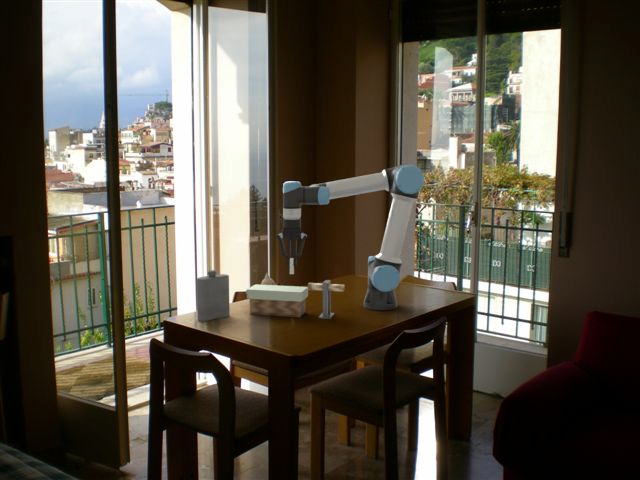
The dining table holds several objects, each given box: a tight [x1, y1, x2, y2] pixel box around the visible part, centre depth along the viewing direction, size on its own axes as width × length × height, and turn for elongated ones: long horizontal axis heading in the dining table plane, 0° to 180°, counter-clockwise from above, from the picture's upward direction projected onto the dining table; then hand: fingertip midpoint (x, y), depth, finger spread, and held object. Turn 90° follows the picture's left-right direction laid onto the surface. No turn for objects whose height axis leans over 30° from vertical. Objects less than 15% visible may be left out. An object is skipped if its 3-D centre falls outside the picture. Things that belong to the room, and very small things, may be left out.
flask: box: [196, 269, 230, 322], centre depth 286 cm, size 15×6×20 cm, turn 133°
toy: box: [245, 272, 278, 295], centre depth 311 cm, size 6×15×15 cm, turn 78°
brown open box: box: [249, 298, 306, 318], centre depth 295 cm, size 22×9×7 cm, turn 76°
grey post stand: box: [318, 279, 335, 320], centre depth 290 cm, size 5×8×15 cm, turn 166°
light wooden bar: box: [307, 282, 346, 293], centre depth 289 cm, size 15×3×3 cm, turn 76°
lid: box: [246, 283, 309, 302], centre depth 295 cm, size 24×11×4 cm, turn 76°
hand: (291, 273), depth 292 cm, fingers closed
